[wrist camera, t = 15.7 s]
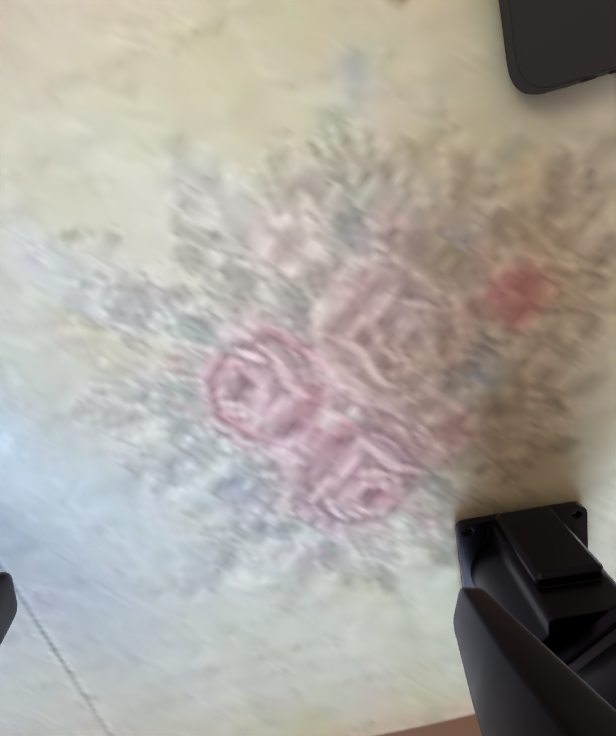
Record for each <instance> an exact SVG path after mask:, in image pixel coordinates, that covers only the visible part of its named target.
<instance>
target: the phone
mask: <svg viewBox="0 0 616 736" xmlns="http://www.w3.org/2000/svg"><path fill="white" fill-rule="evenodd" d="M499 4H500V12H501V20H502V28H503V36H504V44H505V52H506V59H507V66H508V71H509V75H510V78H511V80H512V82H513V83H514V85H515V86H516V87H517V88H518V89H519V90H520V91H522V92H524V93H527V94H543V93H547V92H551V91H554V90H557V89H561V88H564V87H567V86H570V85H573V84H577V83H580V82H581V83H582V82H585V81H588V80H591V79H594V78H596V77H599V76H602V75H605V74H612V73H615V72H616V0H499Z"/></svg>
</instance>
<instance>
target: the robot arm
mask: <svg viewBox="0 0 616 736" xmlns="http://www.w3.org/2000/svg"><path fill="white" fill-rule="evenodd" d="M574 511H576V512H575V513H574V514H572V513H573V512H574ZM467 528H468V529H469V530H468V531H466V532H464V530H465V529H467ZM456 537H457V545H458V553H459V561H460V569H461V577H462V585H463V588H461V589H460V591H459V595H458V600H457V604H456V609H455V613H454V630H455V634H456V638H457V642H458V646H459V650H460V654H461V658H462V662H463V666H464V670H465V674H466V678H467V682H468V686H469V690H470V694H471V699H472V703H473V706H474V710H475V714H476V717H477V720H478V724H479V727H480V730H481V733H482V736H616V582H615V581H614V580H613V579H612V578H611V577H610V576H609V575H608V573H607V572H606V571H605V570H604V569H603V566H602V564H601V563H600V562H599V561H598V560H597V559H596V558H595V557H594V555H593V554H592V553H591V552H590V551H589V550H588V535H587V510H586V509H585V508H584V507H583V506H582V505H581V504H580V503H578V502H567V503H561V504H555V505H549V506H543V507H537V508H531V509H525V510H519V511H513V512H507V513H501V514H495V515H489V516H483V517H477V518H471V519H465V520H462V521H460V522H458V523H457V525H456ZM16 611H17V600H16V595H15V590H14V585H13V580H12V577H11V575H10V574H9V573H6V572H0V645H1V643H2V641H3V639H4V637H5V635H6V633H7V631H8V629H9V627H10V625H11V623H12V621H13V619H14V617H15V615H16Z"/></svg>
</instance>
